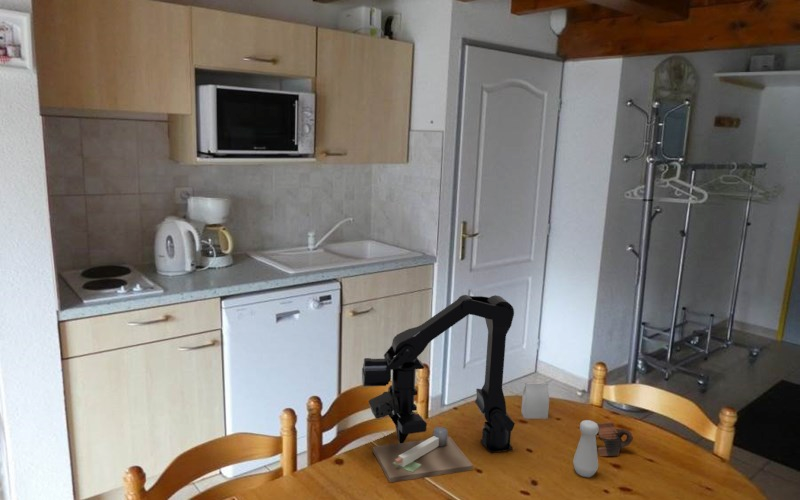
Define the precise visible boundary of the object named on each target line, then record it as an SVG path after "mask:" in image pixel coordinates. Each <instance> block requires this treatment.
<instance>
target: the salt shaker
mask: <svg viewBox="0 0 800 500" xmlns="http://www.w3.org/2000/svg"><path fill="white" fill-rule="evenodd" d="M579 424H580V425H579V431H580V432H581V434H580V437H579V438H580V439H579V442H578V444H577V448H576V451H575V452H574V453H575V454H574V457H573V461H572V462H573V468H574V470H575V473H576V474H577V475H579V476H580V477H584V478H591V477H593V476H594V475H595V474H596V472H597V470H598V468H599V461H598V459H599V458H598V446H597V437H596V436H597V435H596V434H597V433H598V431H599V427H598V425H597V424H598V423H596V422H595V421H593V420H589V419H585V420H582V421H581V422H580V423H579Z"/></svg>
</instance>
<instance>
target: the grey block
mask: <svg viewBox="0 0 800 500" xmlns="http://www.w3.org/2000/svg"><path fill="white" fill-rule="evenodd" d="M549 388H550V387H549V383H547V382H546V383H545V382H541V383H538V382H536V383H535V382H534V383H533V382H531V383H530V382H528V383H527V382H525V384H524V388H523V391H522V398H521V411H520V413H521V415H522V417H523V418H524V419H528V420H531V419H532V420H535V419H538V420H539V419H543V420H544V419H545V420H548V418H549V406H550V393H549Z"/></svg>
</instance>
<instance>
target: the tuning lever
mask: <svg viewBox="0 0 800 500" xmlns="http://www.w3.org/2000/svg"><path fill="white" fill-rule="evenodd" d="M432 434H433V435H432V436H431V437H429V438H426V439H424V440H425V441H424V442H422V443H420V444H418V445H417V446H415V447H413V448H411V449H409V450H408V451H406V452H404V453H402V454H401V455H399V456H398V458H397V459H395V463H396V464H398V465H400V466H402V467H404V466H406V465H408V464H409V463H411V462H413V461H414V460H416V459H418V458H420V457H421V456H423V455H425V454H426V453H428V452H430V451H431V450H433V449H435V448H436V447H438V446H445V445H447V437H448V429H447V428H446V427H443V426H436V427H434V428H433V432H432Z"/></svg>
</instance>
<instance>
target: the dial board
mask: <svg viewBox="0 0 800 500" xmlns="http://www.w3.org/2000/svg"><path fill="white" fill-rule="evenodd" d="M425 440H426V439H421V440H420V439H419V440H414V441H413V440H412V441H404V443H399V442H396V443H390V444H381V445H375V446H373V447H372V452H373V454H374V457H375V458H376V459H377V462H378V464H379V465H380V467H381V469H382V471H383V473H384V475H385V477H386V478H387V480H388V482H389V483H395V482H397V483H398V482H402V481H409V480H410V481H411V480H416V479H422V478H428V477H434V476H441V475H442V476H443V475H449V474H454V473H455V474H456V473H460V472H469V471H473V469H474V465H473V463H472V462H471V461H470V459H468V457H467V456H466V455H465V454H464V452H463V451H462V450H461V448H460V447H459V446H458V445H457V443H455V441H454V440H453V439H452V438H451V436H447V445H445V446H438V447H436V448H435V449H433V450H431V451H430V452H428V453H426V454H425V455H423V456H421V457H420V458H418V459H416V460H414V461H413V462H411V463H409V464H408V465H406V466H404V467H402V466H400V465H398V464H396V463H395V459H397V458H398V456H399V455H401V454H402V453H404V452H406V451H408V450H409V449H411V448H413V447H415V446H417V445H418V444H420V443H422V442H424V441H425Z"/></svg>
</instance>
